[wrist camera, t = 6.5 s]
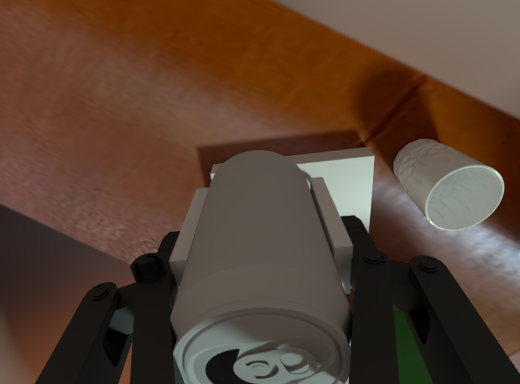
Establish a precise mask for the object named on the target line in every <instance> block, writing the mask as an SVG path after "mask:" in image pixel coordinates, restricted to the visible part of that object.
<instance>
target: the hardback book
mask: <svg viewBox="0 0 520 384" xmlns="http://www.w3.org/2000/svg"><path fill="white" fill-rule="evenodd" d="M394 323H395V335H396V347H397V359H398V371H399V383H400V384H433V382H432V379H431V377H430V375H429V372H428V370H427V368H426V365H425V363H424V360H423V358H422V356H421V353H420V351H419V349H418V346H417V344H416V342H415V339H414V337H413V334H412V332H411V330H410V327H409V325H408V323H407V320H406V318H405V316H404V313H403V312H402V311H397V310H394Z"/></svg>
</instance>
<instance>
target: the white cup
mask: <svg viewBox="0 0 520 384" xmlns="http://www.w3.org/2000/svg"><path fill="white" fill-rule="evenodd" d="M393 173H394V175H395V176H396V178H397V180H398V181H399V183H400V184H401V185H402V187H403V189H404V190H405V191H406V193H407V194H408V195H409V197H410V198H411V199H412V201H413V202H414V203H415V204H416V206H417V207H418V208H419V209H420V211H421V212H422V213H423V214H424V216H425V217H426V218H427V219H428V221H429V222H430V223H431V224H432V225H433V226H435V227H437V228H439V229H442V230H447V231H458V230H463V229H467V228H470V227H472V226H475V225H477V224H478V223H480V222H482V221H483V220H485V219H486V218H487V217H489V216H490V215H491V214H492V213H493V212H494V211H495V209H496V208H497V207H498V205H499V203H500V202H501V200H502V197H503V194H504V182H503V179H502V177H501V175H500V174H499V173H498V172H497V171H496V170H495V169H493V168H491V167H489V166H487V165H485V164H483V163H481V162H479V161H477V160H475V159H474V158H472V157H470V156H468V155H466V154H464V153H462V152H459V151H457V150H455V149H453V148H451V147H449V146H445V145H443V144H440V143H439V142H437V141H435V140H433V139H418V140H416V141H413V142H411V143H408V144H407V145H406V146H405V147H404V148H403V149H401V150H400V151H399V152H398V154H397V156H396V158H395V160H394V163H393Z"/></svg>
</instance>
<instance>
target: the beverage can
mask: <svg viewBox="0 0 520 384" xmlns="http://www.w3.org/2000/svg"><path fill="white" fill-rule="evenodd" d="M170 320H171V325H172V330H173V334H174V338H175V343H176V344H175V347H174V351H173V355H174V357H175V359H176V362H177V365H178V367H179V370H180V372H181V375H182V377H183V380H184V383H185V384H345V382H346V381H347V379H348V377H349V373H350V358H351V349H350V345H349V343H350V340H351V337H352V322H353V316H352V312H351V309H350V306H349V303H348V300H347V297H346V294H345V291H344V288H343V285H342V282H341V280H340V277H339V274H338V271H337V268H336V265H335V262H334V259H333V256H332V253H331V250H330V247H329V244H328V241H327V238H326V235H325V232H324V230H323V227H322V224H321V221H320V218H319V215H318V212H317V209H316V206H315V203H314V200H313V197H312V194H311V191H310V188H309V185H308V182H307V180H306V177H305V176H304V174H303V172H302V171H301V169H300V168H299V167H298V166H297V165H296V164H295V163H294V162H293V161H291V160H290V159H288V158H287V157H285V156H283V155H281V154H278V153H275V152H271V151H265V150H254V151H247V152H243V153H240V154H238V155H235V156H233V157H232V158H230V159H228V160H227V161H226V162H225V163H223V164H222V165H221V166H220V167H219V169H218V170H217V171H216V173H215V174H214V176H213V178H212V181H211V183H210V187H209V190H208V193H207V197H206V200H205V203H204V207H203V210H202V213H201V217H200V220H199V223H198V227H197V230H196V233H195V237H194V240H193V243H192V247H191V250H190V253H189V257H188V260H187V263H186V267H185V270H184V274H183V277H182V280H181V284H180V287H179V290H178V294H177V297H176V300H175V304H174V307H173V310H172V314H171V317H170Z"/></svg>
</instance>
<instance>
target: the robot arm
mask: <svg viewBox="0 0 520 384" xmlns="http://www.w3.org/2000/svg"><path fill="white" fill-rule="evenodd" d="M208 190H209V188H200V189H196V192H195V195H194V197H193V200H192V202H191V205H190V208H189V210H188V213H187V215H186V218H185V221H184V223H183V226H182V228H181V231H177V232H169V233H168V234H167V235H166V236H165V237H164V238H163V240H162V242H161V244H160V246H159V248H158V252H157V253H147V254H144V255H142V256H140V257H138V258H137V259H135V260H134V261H133V262H132V264H131V267H130V268H131V271H132V273H133V276H134V278H135V280H136V282H135V283H133V284H131V285H128V286H124V287H121V288H117V286H116V284H114V283H112V282H106V283H102V284H99V285H97V286H95V287H93V288H92V289H91V290H89V291H88V292H87V294H86V295H85V296H84V298H83V300H82V301H81V303H80V305H79V307H78V309H77V310H76V312H75V314H74V316H73V317H72V319H71V321H70V323H69V325H68V326H67V328H66V330H65V331H64V333H63V335H62V337H61V339H60V340H59V342H58V344H57V346H56V347H55V349H54V351H53V353H52V354H51V356H50V358H49V360H48V362H47V363H46V365H45V367H44V369H43V370H42V372H41V374H40V376H39V377H38V379H37V381H36V383H35V384H118V383H119V379H120V377H121V374H122V371H123V368H124V365H125V362H126V359H127V355H128V352H129V349H130V346H131V343H132V359H131V360H132V361H131V376H130V384H185V383H184V380H183V377H182V375H181V372H180V370H179V367H178V365H177V362H176V359H175V357H174V355H173V351H174V347H175V344H176V343H175V338H174V334H173V330H172V325H171V320H170V317H171V314H172V310H173V307H174V304H175V300H176V297H177V294H178V290H179V287H180V284H181V280H182V277H183V274H184V270H185V267H186V263H187V260H188V257H189V253H190V250H191V247H192V243H193V240H194V237H195V233H196V230H197V227H198V223H199V220H200V217H201V213H202V210H203V207H204V203H205V200H206V197H207V193H208ZM310 191H311V194H312V197H313V200H314V203H315V206H316V209H317V212H318V215H319V218H320V221H321V224H322V227H323V230H324V232H325V235H326V238H327V241H328V244H329V247H330V250H331V253H332V256H333V259H334V262H335V265H336V268H337V271H338V274H339V277H340V280H341V282H342V285H343V288H344V291H345V294H350V293H351V287H352V289H353V292H354V298H353V322H352V337H351V358H350V373H349V384H400V383H399V371H398V359H397V347H396V335H395V323H394V311H393V310H397V311H402V312H403V313H404V316H405V318H406V320H407V323H408V325H409V327H410V330H411V332H412V334H413V337H414V339H415V342H416V344H417V346H418V349H419V351H420V353H421V356H422V358H423V360H424V363H425V365H426V368H427V370H428V372H429V375H430V377H431V379H432V382H433V384H520V373H519V372H518V371H517V369H516V368H515V366H514V365H513V363H512V362H511V361H510V359H509V357H508V356H507V354H506V353H505V352H504V350H503V349H502V347H501V346H500V344H499V343H498V341H497V340H496V338H495V337H494V336H493V334H492V333H491V331H490V330H489V328H488V327H487V325H486V324H485V322H484V321H483V319H482V318H481V317H480V315H479V314H478V312H477V311H476V309H475V308H474V306H473V305H472V303H471V302H470V300H469V299H468V298H467V296H466V295H465V293H464V292H463V290H462V289H461V287H460V286H459V284H458V283H457V282H456V280H455V279H454V277H453V276H452V274H451V273H450V271H449V270H448V268H447V267H446V266H445V265H444V264H443V263H442V262H441V261H440V260H438V259H436V258H433V257H430V256H423V255H421V256H416V257H414V258H412V259H411V262H410V264H409V263H402V262H396V261H392V260H389V259H388V256H386V255H385V254H384V253H383V252H381V251H379V250H377V248H376V246H375V244H374V242H373V240H372V239H371V237H370V235H369V233H368V231H367V230H366V228H365V226H364V224H363V222H362V220H360V219H359V218H358V217H356V216H355V215H349V216H340V215H339V213H338V211H337V208H336V206H335V204H334V202H333V199H332V197H331V195H330V192H329V190H328V188H327V186H326V183H325V181H324V179H323V177H315V178H310ZM132 340H133V342H132Z"/></svg>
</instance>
